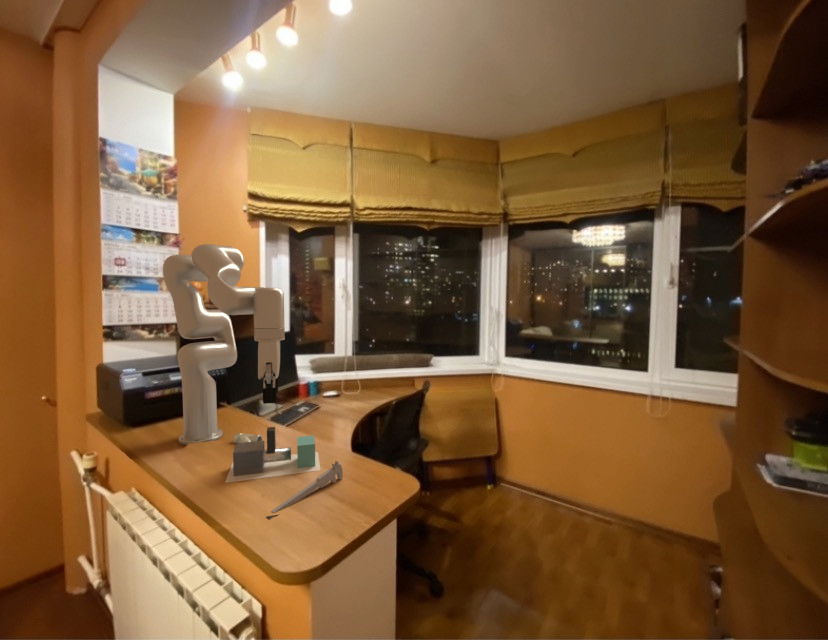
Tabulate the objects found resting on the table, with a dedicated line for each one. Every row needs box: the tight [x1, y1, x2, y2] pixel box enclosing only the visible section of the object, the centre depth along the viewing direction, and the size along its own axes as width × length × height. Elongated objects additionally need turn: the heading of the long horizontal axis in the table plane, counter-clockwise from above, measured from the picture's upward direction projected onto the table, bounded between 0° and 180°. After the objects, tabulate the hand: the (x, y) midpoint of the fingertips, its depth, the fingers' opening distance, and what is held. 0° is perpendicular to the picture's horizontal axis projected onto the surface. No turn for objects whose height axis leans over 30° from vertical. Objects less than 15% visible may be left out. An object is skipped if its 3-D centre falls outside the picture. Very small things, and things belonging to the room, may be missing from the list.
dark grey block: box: [232, 440, 266, 476], centre depth 99 cm, size 6×7×6 cm
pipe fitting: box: [232, 432, 264, 444], centre depth 116 cm, size 8×4×7 cm
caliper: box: [265, 460, 343, 521], centre depth 87 cm, size 20×1×6 cm, turn 142°
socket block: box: [296, 434, 316, 468], centre depth 104 cm, size 6×5×6 cm
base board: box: [225, 451, 321, 483], centre depth 101 cm, size 12×23×1 cm, turn 108°
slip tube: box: [263, 426, 292, 463], centre depth 100 cm, size 3×14×9 cm, turn 108°
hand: (271, 397), depth 100 cm, fingers open, 9 cm apart
